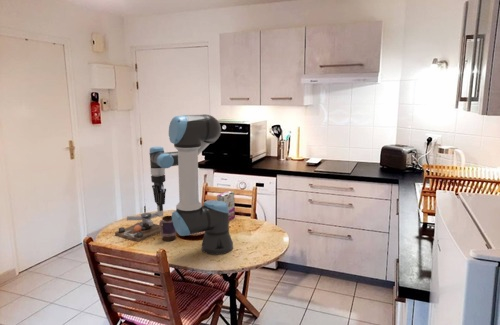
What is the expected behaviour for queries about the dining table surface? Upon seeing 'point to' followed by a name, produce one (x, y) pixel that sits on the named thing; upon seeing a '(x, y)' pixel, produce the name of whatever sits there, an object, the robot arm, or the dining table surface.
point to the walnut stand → (137, 233)
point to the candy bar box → (228, 202)
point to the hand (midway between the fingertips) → (160, 215)
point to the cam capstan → (144, 220)
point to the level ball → (137, 228)
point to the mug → (167, 229)
